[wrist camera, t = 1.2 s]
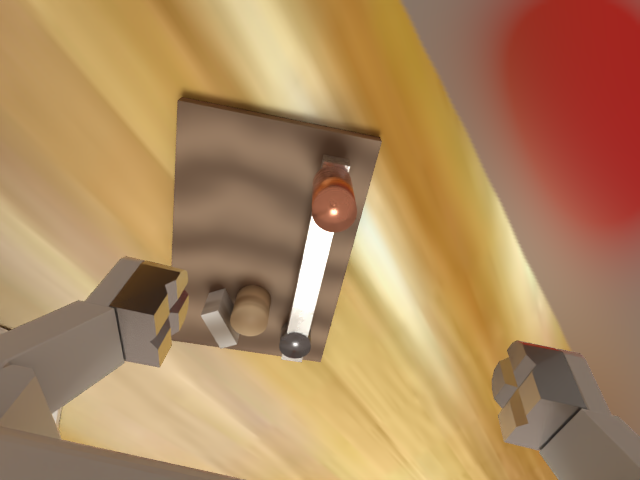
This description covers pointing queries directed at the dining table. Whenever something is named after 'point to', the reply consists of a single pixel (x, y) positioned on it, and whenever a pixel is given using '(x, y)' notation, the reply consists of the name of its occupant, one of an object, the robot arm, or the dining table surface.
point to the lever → (318, 250)
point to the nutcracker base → (255, 217)
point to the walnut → (251, 311)
